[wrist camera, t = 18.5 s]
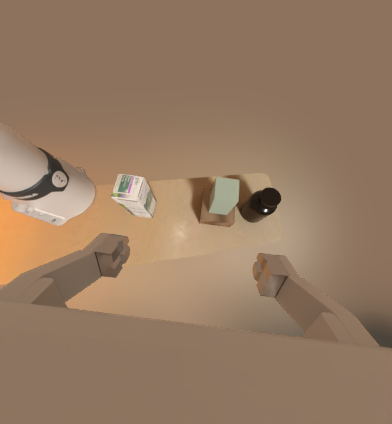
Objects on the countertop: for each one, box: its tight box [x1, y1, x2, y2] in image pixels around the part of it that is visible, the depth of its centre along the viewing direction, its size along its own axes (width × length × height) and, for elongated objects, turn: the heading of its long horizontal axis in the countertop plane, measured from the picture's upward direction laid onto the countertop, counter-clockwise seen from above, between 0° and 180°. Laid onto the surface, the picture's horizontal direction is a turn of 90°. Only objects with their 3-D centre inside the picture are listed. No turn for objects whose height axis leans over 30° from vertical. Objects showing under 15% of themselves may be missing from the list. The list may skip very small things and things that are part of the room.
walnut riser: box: [199, 188, 235, 227], centre depth 43 cm, size 9×9×5 cm
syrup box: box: [111, 174, 156, 218], centre depth 38 cm, size 6×6×14 cm
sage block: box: [208, 177, 239, 215], centre depth 36 cm, size 5×5×10 cm
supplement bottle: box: [241, 188, 281, 223], centre depth 40 cm, size 7×7×12 cm
